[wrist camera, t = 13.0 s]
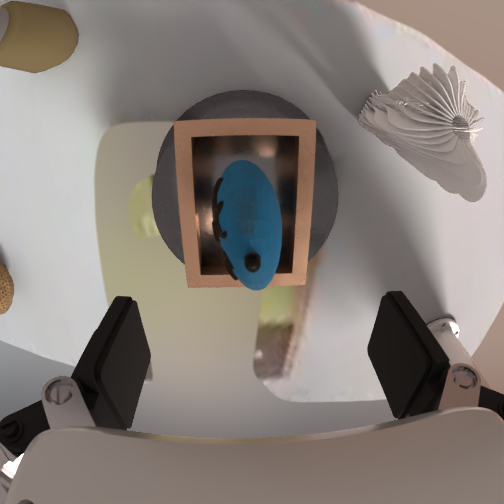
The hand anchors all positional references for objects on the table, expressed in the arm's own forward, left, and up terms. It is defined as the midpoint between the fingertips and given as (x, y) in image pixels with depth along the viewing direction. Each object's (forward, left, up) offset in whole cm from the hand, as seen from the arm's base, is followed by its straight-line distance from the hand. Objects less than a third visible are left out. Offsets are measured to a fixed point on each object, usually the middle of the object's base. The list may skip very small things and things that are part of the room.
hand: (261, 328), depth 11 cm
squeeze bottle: (+19, +22, -24) cm, 38 cm away
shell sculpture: (+8, -15, -24) cm, 30 cm away
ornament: (0, 0, -14) cm, 14 cm away
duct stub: (0, 0, -24) cm, 24 cm away
